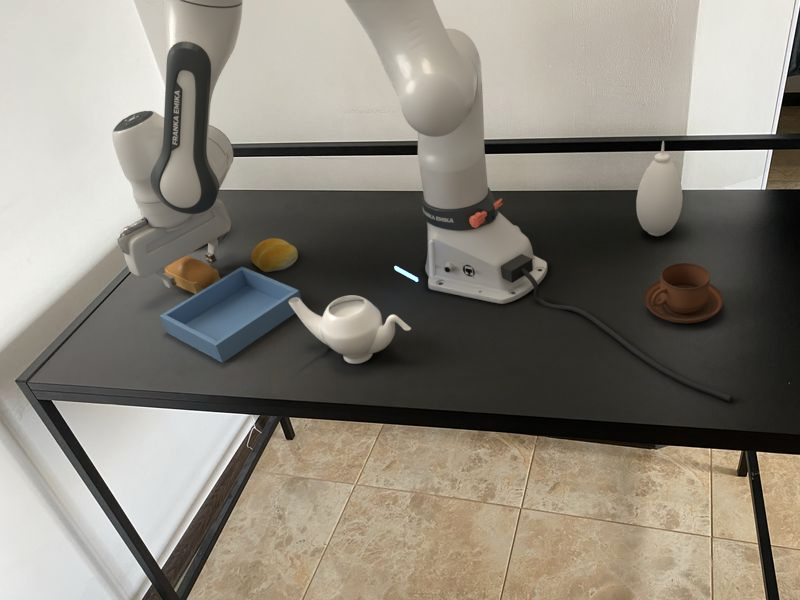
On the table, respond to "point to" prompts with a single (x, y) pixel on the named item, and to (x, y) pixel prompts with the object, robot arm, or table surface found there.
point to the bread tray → (230, 313)
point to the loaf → (192, 274)
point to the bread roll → (274, 255)
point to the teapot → (350, 327)
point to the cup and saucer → (684, 294)
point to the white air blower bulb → (659, 196)
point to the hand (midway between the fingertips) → (192, 273)
